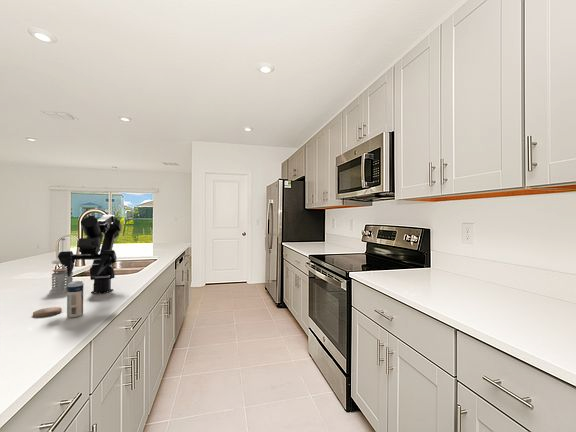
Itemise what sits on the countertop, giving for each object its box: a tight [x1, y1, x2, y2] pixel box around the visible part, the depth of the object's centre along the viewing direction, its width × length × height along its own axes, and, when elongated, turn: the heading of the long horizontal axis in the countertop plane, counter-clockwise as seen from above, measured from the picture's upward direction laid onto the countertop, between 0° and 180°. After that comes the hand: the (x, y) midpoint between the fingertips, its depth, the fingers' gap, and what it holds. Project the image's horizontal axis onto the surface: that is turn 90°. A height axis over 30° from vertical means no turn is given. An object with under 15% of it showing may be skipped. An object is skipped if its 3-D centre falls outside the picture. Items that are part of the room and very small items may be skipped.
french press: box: [48, 237, 74, 294], centre depth 135 cm, size 10×12×25 cm
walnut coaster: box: [32, 306, 63, 318], centre depth 103 cm, size 8×8×1 cm
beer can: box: [66, 280, 84, 319], centre depth 101 cm, size 5×5×12 cm
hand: (83, 275), depth 108 cm, fingers open, 9 cm apart
